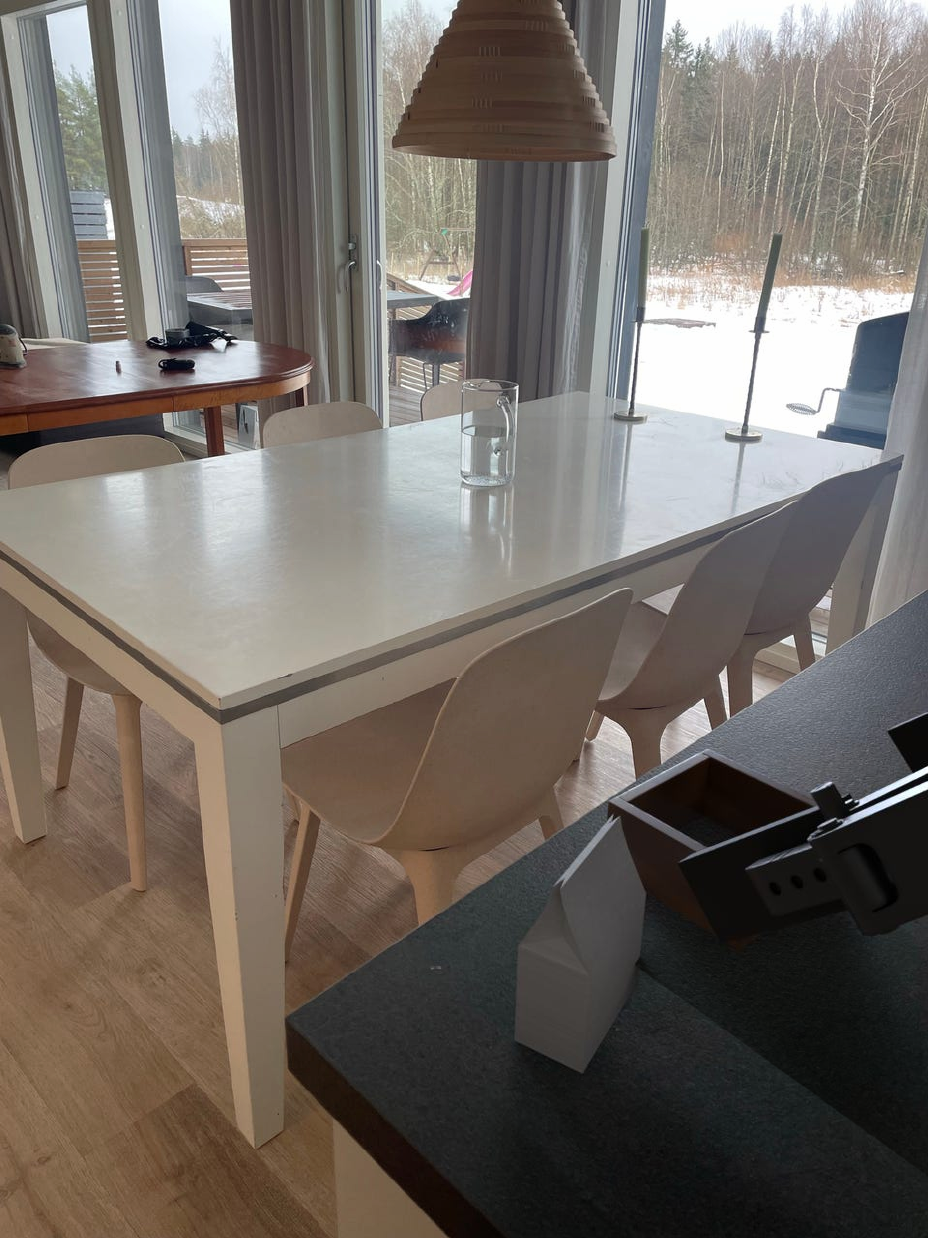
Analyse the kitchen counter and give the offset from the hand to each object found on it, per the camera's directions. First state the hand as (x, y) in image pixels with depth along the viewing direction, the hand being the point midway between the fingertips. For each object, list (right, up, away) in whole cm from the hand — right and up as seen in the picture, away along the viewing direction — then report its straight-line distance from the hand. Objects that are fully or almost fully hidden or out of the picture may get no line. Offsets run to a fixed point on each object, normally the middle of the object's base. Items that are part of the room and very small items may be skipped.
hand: (819, 820), depth 34 cm
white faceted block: (-7, -13, +14) cm, 20 cm away
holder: (+2, -10, +23) cm, 25 cm away
